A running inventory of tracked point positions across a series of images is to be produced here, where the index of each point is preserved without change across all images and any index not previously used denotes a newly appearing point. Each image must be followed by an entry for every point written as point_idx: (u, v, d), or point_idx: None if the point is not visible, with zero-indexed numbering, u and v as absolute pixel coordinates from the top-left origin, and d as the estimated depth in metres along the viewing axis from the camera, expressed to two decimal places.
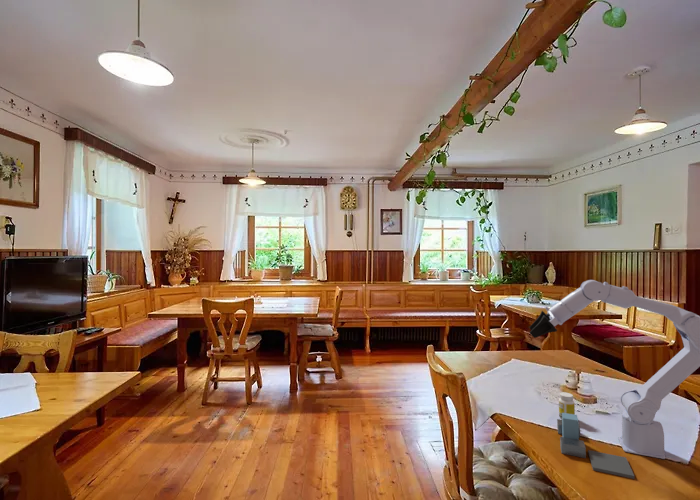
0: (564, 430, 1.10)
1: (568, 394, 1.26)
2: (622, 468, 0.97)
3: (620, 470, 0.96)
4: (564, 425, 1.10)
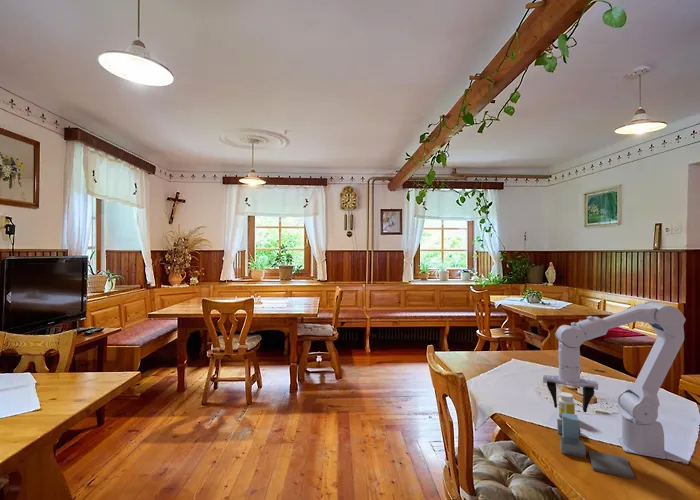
0: (564, 430, 1.10)
1: (568, 394, 1.26)
2: (622, 468, 0.97)
3: (620, 470, 0.96)
4: (564, 425, 1.10)
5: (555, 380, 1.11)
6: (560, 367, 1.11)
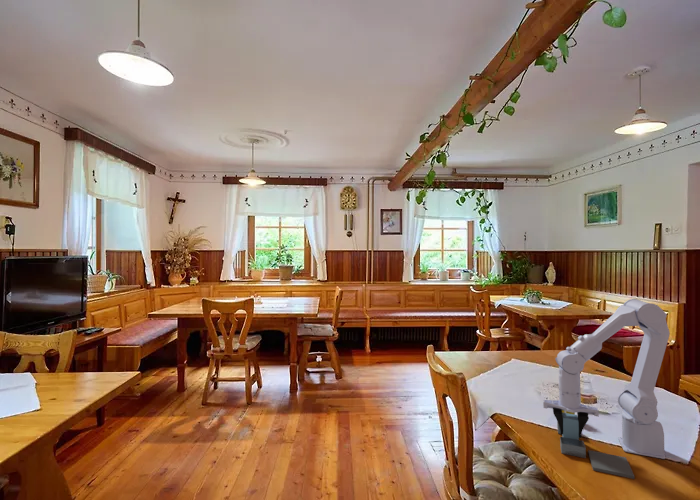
0: (564, 430, 1.10)
1: None
2: (622, 468, 0.97)
3: (620, 470, 0.96)
4: (564, 425, 1.10)
5: (555, 406, 1.11)
6: (560, 393, 1.11)
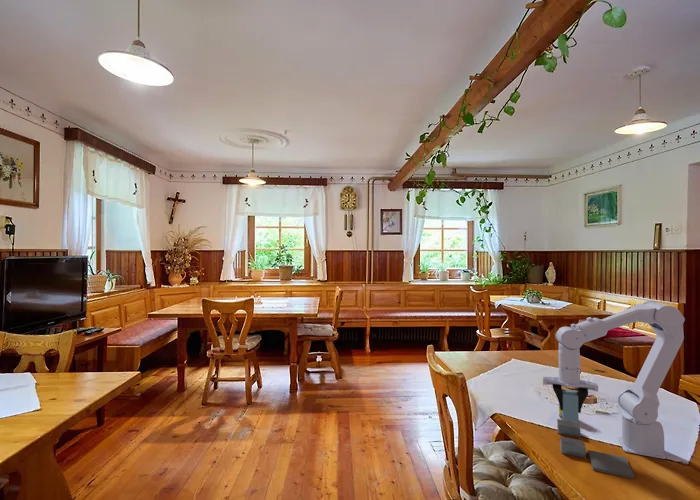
0: (564, 406, 1.10)
1: None
2: (622, 468, 0.97)
3: (620, 470, 0.96)
4: (564, 401, 1.10)
5: (555, 382, 1.11)
6: (560, 369, 1.11)
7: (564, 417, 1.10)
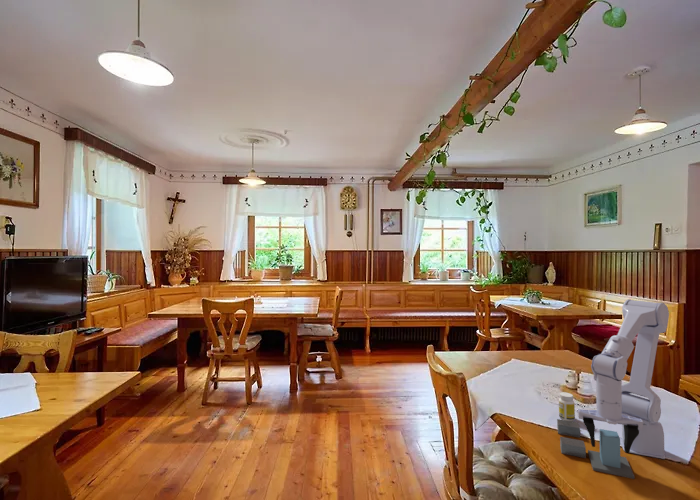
0: (603, 449, 0.98)
1: (568, 394, 1.26)
2: (622, 468, 0.97)
3: (620, 470, 0.96)
4: (603, 443, 0.98)
5: (593, 416, 0.99)
6: (599, 402, 0.99)
7: (604, 462, 0.98)
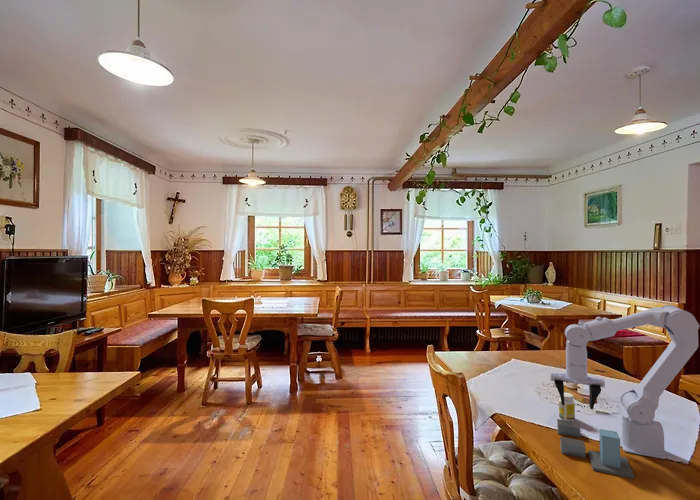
0: (603, 449, 0.98)
1: (568, 394, 1.26)
2: (622, 468, 0.97)
3: (620, 470, 0.96)
4: (603, 443, 0.98)
5: (563, 378, 1.14)
6: (568, 365, 1.13)
7: (604, 462, 0.98)
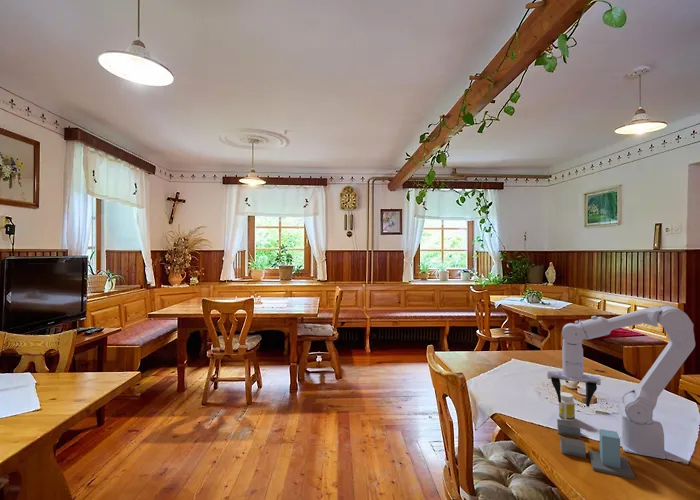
0: (603, 449, 0.98)
1: (568, 394, 1.26)
2: (622, 468, 0.97)
3: (620, 470, 0.96)
4: (603, 443, 0.98)
5: (559, 376, 1.16)
6: (564, 363, 1.15)
7: (604, 462, 0.98)
